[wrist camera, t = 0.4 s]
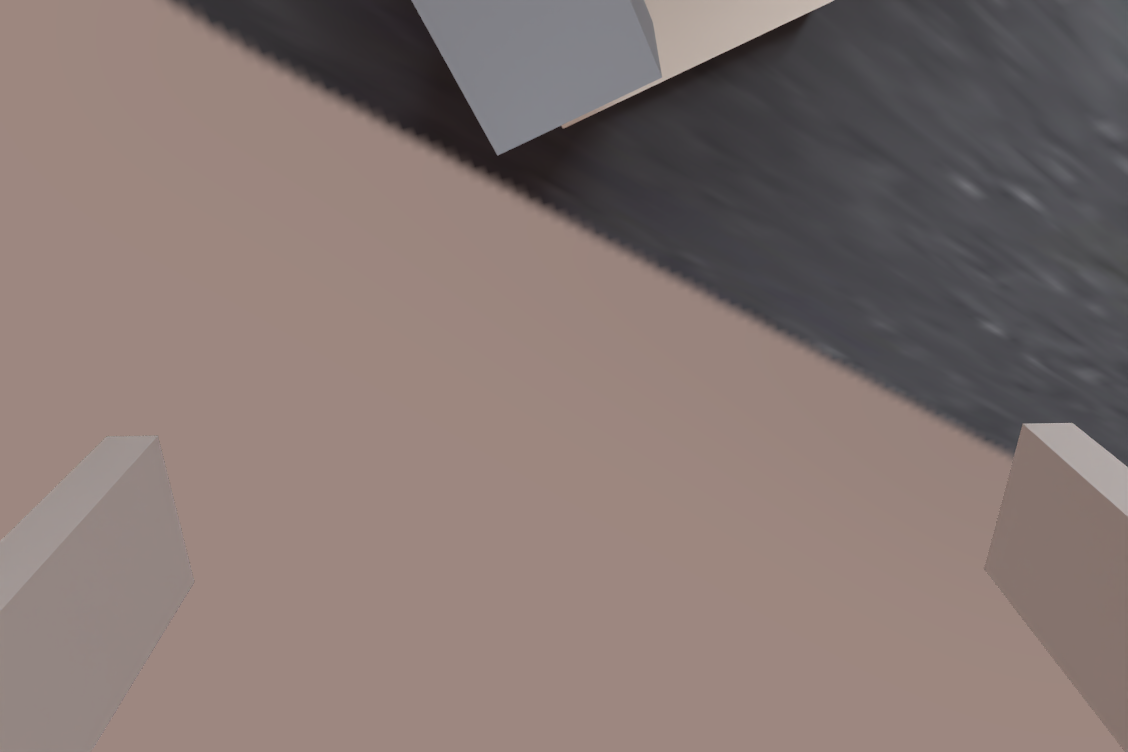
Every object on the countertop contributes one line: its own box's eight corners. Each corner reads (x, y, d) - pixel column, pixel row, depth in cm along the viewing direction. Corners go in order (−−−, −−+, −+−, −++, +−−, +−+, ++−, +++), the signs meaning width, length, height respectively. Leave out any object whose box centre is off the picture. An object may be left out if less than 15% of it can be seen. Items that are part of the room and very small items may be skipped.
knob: (587, -141, 24) (579, -122, 19) (653, 22, 26) (661, 77, 21) (443, -57, 25) (400, -19, 20) (518, 89, 28) (497, 155, 23)
